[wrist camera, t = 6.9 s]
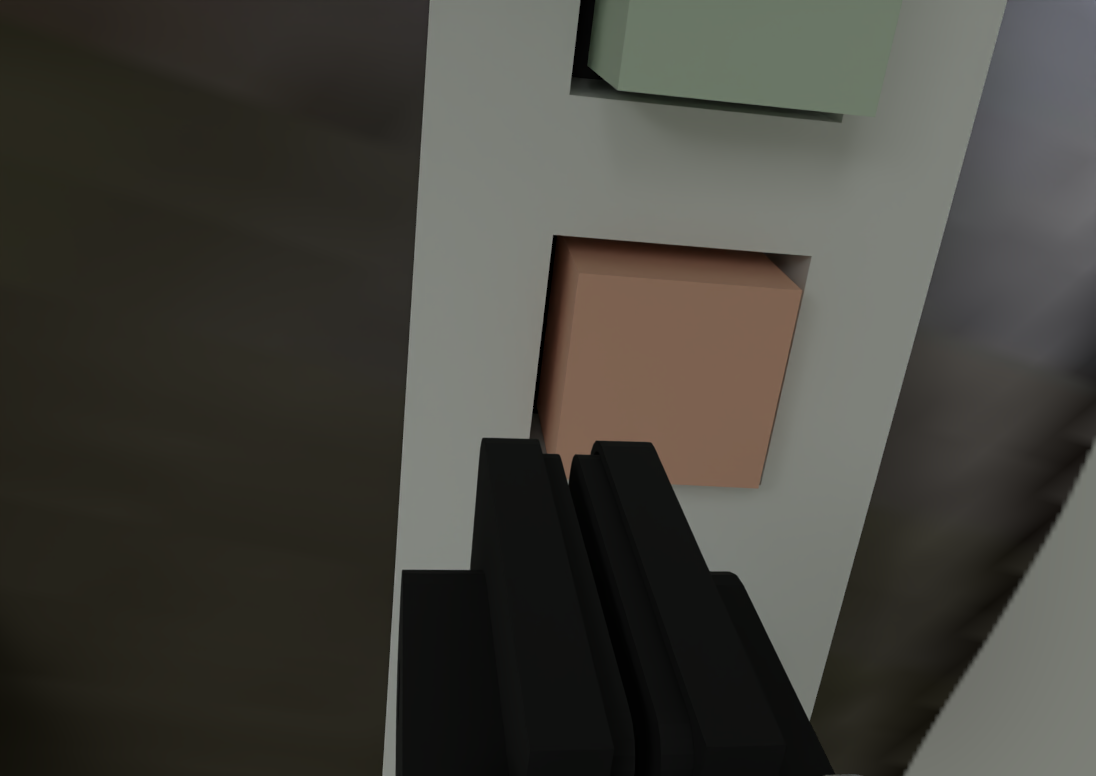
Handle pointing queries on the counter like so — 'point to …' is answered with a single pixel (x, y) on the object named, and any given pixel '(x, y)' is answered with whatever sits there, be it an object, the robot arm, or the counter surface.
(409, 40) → the counter surface
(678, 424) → the terracotta key
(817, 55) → the sage key
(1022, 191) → the counter surface
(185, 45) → the counter surface
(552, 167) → the keypad housing
